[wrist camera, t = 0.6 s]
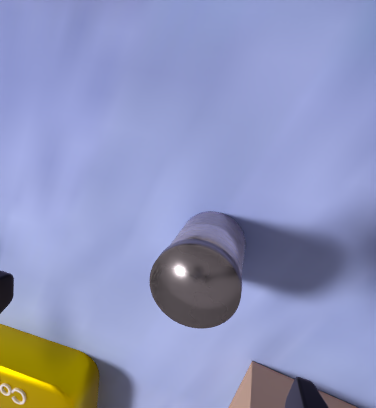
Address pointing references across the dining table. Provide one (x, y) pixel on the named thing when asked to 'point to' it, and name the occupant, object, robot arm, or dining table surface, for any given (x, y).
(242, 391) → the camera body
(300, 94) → the dining table surface
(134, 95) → the dining table surface
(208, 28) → the dining table surface
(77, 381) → the element tile
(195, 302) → the lens
